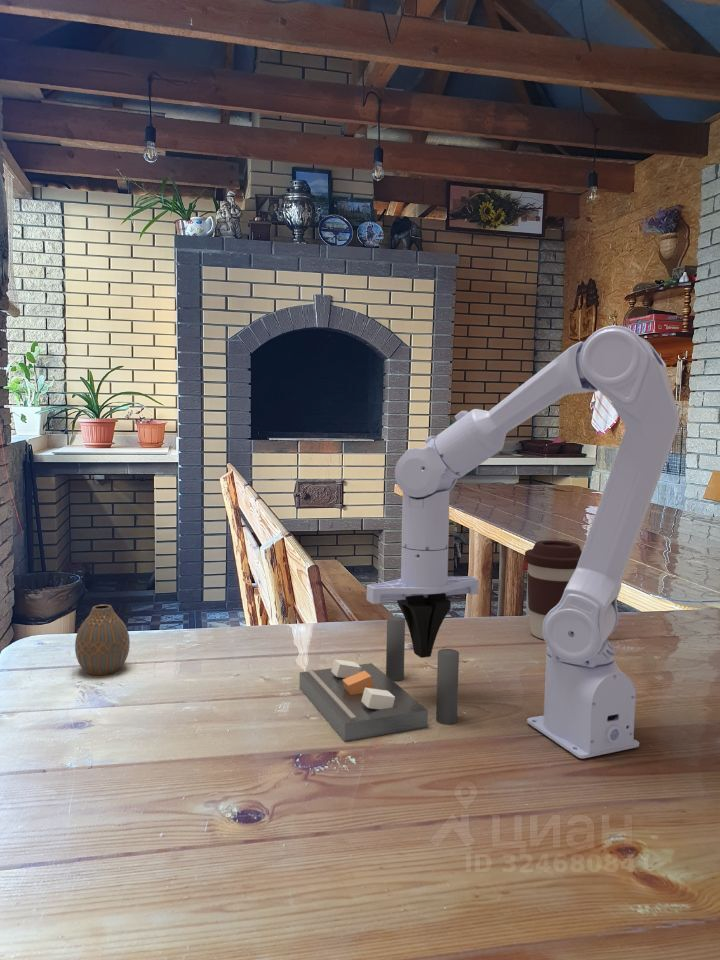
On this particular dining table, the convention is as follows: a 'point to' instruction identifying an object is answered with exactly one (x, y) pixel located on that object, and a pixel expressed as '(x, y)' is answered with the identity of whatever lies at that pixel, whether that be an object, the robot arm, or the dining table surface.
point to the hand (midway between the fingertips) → (422, 654)
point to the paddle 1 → (345, 668)
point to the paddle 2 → (377, 698)
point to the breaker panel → (361, 705)
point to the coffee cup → (548, 577)
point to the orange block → (358, 683)
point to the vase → (102, 641)
